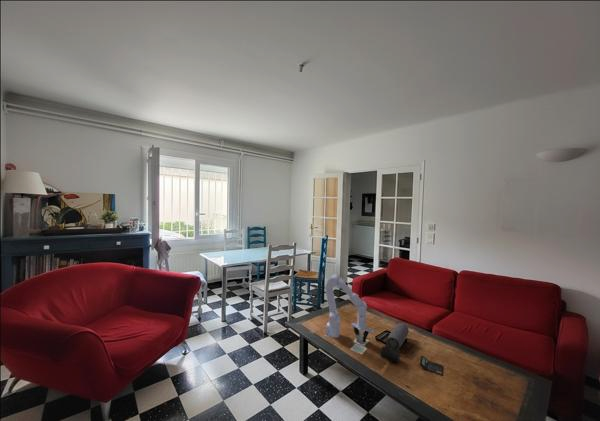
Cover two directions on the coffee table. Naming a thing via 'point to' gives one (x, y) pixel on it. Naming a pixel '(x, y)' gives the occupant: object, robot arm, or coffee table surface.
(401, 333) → the bluetooth speaker
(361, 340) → the block
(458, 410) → the coffee table surface
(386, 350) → the end cap
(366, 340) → the stand
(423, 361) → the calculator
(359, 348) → the stand
